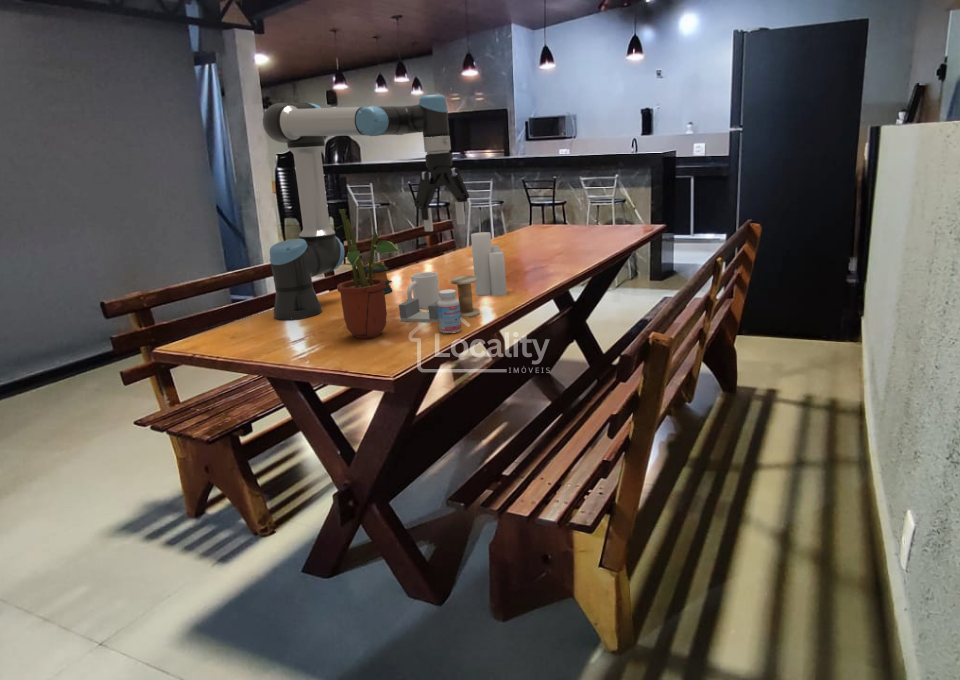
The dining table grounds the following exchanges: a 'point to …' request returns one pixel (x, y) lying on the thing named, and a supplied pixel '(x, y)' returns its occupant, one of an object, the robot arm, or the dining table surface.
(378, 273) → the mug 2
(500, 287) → the vase
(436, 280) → the mug
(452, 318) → the pill bottle
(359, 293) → the potted plant
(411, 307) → the notch board
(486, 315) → the dining table surface
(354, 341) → the dining table surface
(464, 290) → the wooden thread spool
